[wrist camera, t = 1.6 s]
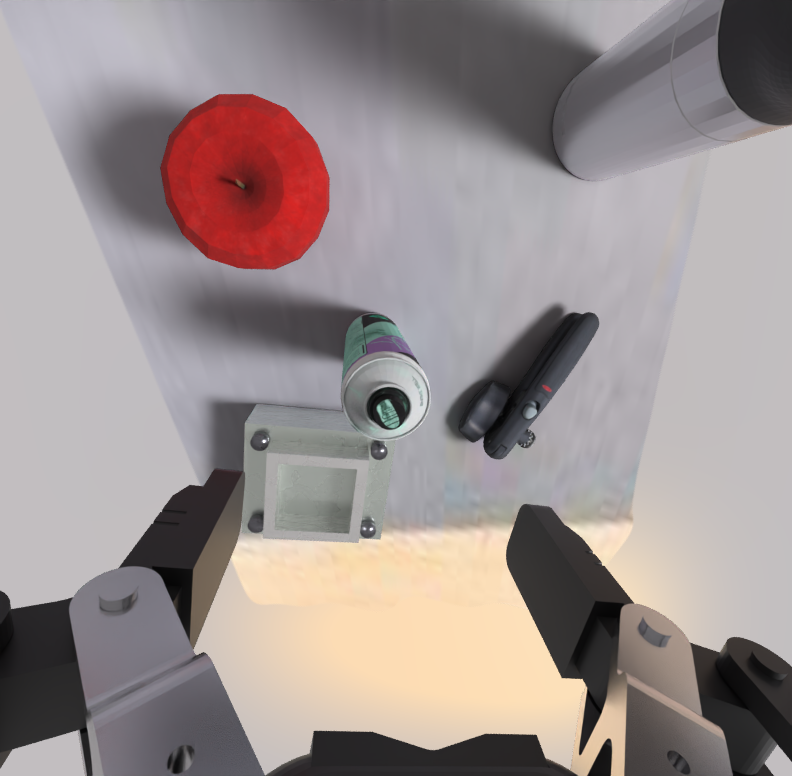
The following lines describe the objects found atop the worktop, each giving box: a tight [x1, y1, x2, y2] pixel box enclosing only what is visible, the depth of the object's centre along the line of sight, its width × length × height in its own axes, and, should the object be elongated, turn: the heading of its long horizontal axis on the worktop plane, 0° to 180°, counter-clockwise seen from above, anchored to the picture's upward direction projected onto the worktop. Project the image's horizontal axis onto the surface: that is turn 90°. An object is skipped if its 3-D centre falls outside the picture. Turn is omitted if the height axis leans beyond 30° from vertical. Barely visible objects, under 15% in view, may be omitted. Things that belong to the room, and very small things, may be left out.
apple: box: [160, 94, 329, 269], centre depth 29 cm, size 11×10×14 cm
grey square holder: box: [242, 404, 396, 543], centre depth 40 cm, size 14×12×8 cm
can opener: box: [459, 312, 599, 459], centre depth 41 cm, size 18×7×6 cm, turn 142°
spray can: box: [341, 313, 431, 441], centre depth 31 cm, size 6×6×20 cm
